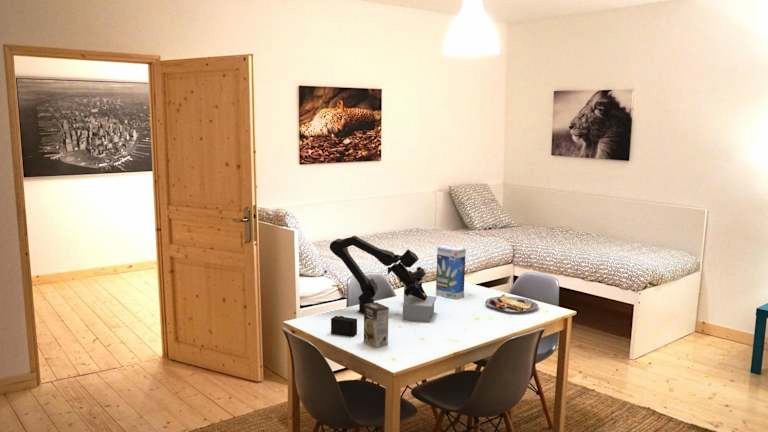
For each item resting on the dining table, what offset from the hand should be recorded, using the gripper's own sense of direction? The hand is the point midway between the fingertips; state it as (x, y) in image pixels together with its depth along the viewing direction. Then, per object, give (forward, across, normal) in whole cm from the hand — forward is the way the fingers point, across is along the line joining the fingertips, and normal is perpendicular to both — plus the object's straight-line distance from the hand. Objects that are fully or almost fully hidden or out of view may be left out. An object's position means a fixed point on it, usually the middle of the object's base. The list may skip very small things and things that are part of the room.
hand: (426, 298), depth 298 cm
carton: (+4, 0, +8) cm, 9 cm away
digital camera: (-15, -32, +27) cm, 45 cm away
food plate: (+33, +26, -21) cm, 47 cm away
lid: (-1, 0, +3) cm, 3 cm away
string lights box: (+11, +39, +2) cm, 40 cm away
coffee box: (-4, -41, +16) cm, 44 cm away
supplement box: (-1, +17, +13) cm, 22 cm away
